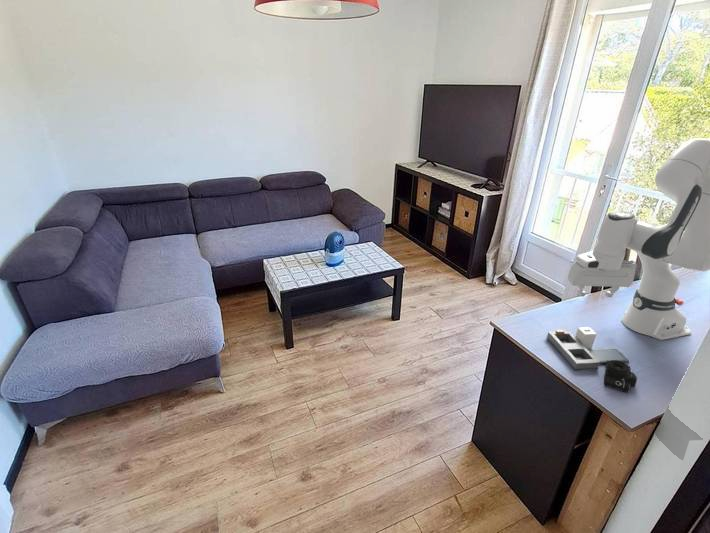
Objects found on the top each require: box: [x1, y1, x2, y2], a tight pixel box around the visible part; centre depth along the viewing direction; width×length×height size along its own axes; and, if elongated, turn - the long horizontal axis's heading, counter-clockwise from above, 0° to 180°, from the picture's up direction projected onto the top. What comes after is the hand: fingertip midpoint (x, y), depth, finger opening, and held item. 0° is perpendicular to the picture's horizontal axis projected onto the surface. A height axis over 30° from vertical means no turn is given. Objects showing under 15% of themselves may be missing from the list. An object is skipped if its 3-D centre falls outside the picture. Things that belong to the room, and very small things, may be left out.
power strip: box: [546, 329, 601, 371], centre depth 131 cm, size 8×18×4 cm, turn 3°
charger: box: [574, 326, 597, 350], centre depth 134 cm, size 4×4×7 cm
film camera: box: [603, 360, 638, 393], centre depth 118 cm, size 13×8×10 cm
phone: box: [587, 348, 630, 366], centre depth 128 cm, size 13×6×1 cm, turn 93°
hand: (594, 296), depth 127 cm, fingers open, 8 cm apart
